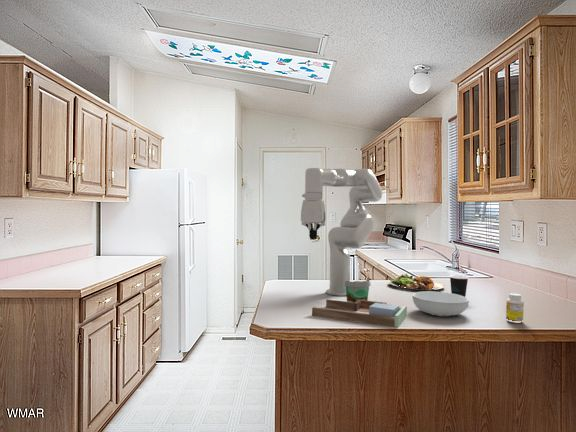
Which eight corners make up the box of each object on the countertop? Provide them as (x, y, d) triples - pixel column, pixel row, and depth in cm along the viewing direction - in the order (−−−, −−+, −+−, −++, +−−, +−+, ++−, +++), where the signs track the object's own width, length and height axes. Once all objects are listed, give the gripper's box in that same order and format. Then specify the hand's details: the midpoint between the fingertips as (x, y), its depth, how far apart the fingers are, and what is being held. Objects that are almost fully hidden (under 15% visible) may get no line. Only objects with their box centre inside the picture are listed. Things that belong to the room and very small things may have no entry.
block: (375, 317, 162) (375, 302, 162) (398, 320, 157) (399, 305, 157) (368, 321, 156) (369, 306, 156) (393, 325, 151) (393, 309, 151)
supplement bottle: (508, 319, 161) (508, 292, 160) (524, 322, 157) (525, 294, 157) (504, 322, 156) (505, 294, 156) (521, 325, 153) (522, 296, 153)
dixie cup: (466, 299, 193) (467, 275, 193) (469, 303, 185) (470, 278, 185) (447, 298, 195) (448, 274, 195) (449, 302, 187) (450, 277, 187)
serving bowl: (463, 324, 154) (463, 305, 153) (405, 315, 165) (405, 297, 164) (472, 312, 171) (473, 295, 171) (419, 305, 182) (420, 289, 182)
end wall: (403, 315, 163) (403, 305, 163) (406, 316, 163) (406, 305, 163) (394, 326, 149) (394, 315, 148) (398, 327, 148) (398, 315, 148)
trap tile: (361, 308, 175) (361, 307, 175) (381, 310, 171) (381, 310, 171) (358, 310, 170) (358, 310, 170) (378, 313, 167) (378, 312, 167)
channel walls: (331, 303, 182) (332, 296, 182) (406, 312, 169) (406, 304, 169) (311, 315, 162) (312, 307, 162) (394, 326, 149) (394, 318, 149)
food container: (352, 307, 176) (353, 283, 176) (344, 304, 182) (344, 280, 181) (376, 304, 182) (376, 281, 182) (367, 301, 187) (367, 278, 187)
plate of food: (379, 283, 233) (379, 272, 232) (424, 281, 240) (424, 270, 240) (406, 295, 206) (407, 283, 205) (456, 292, 213) (456, 280, 213)
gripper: (294, 196, 184) (293, 239, 185) (327, 196, 178) (326, 240, 179) (301, 197, 191) (300, 238, 192) (333, 197, 185) (332, 239, 185)
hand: (313, 239), depth 185 cm, fingers closed
